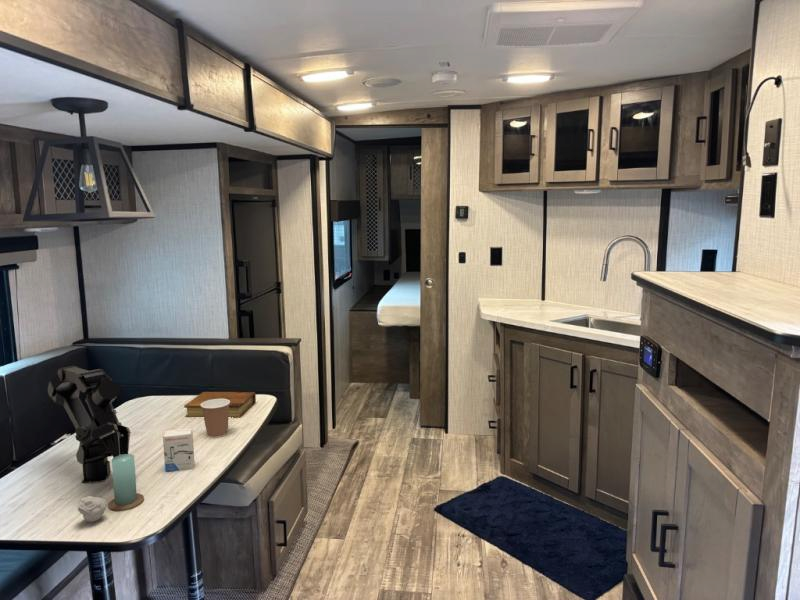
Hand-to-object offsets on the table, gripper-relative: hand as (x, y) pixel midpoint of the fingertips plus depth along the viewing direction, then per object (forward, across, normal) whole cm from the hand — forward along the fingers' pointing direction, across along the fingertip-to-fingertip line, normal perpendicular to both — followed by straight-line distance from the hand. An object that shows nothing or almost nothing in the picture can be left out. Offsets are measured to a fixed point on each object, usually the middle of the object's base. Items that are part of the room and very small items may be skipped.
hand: (122, 459), depth 160 cm
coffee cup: (+2, -41, +24) cm, 47 cm away
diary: (-8, -67, +27) cm, 73 cm away
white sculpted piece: (+13, +9, -10) cm, 19 cm away
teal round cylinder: (+11, +2, -2) cm, 12 cm away
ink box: (+8, -17, +11) cm, 22 cm away
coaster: (+12, +2, -3) cm, 12 cm away
